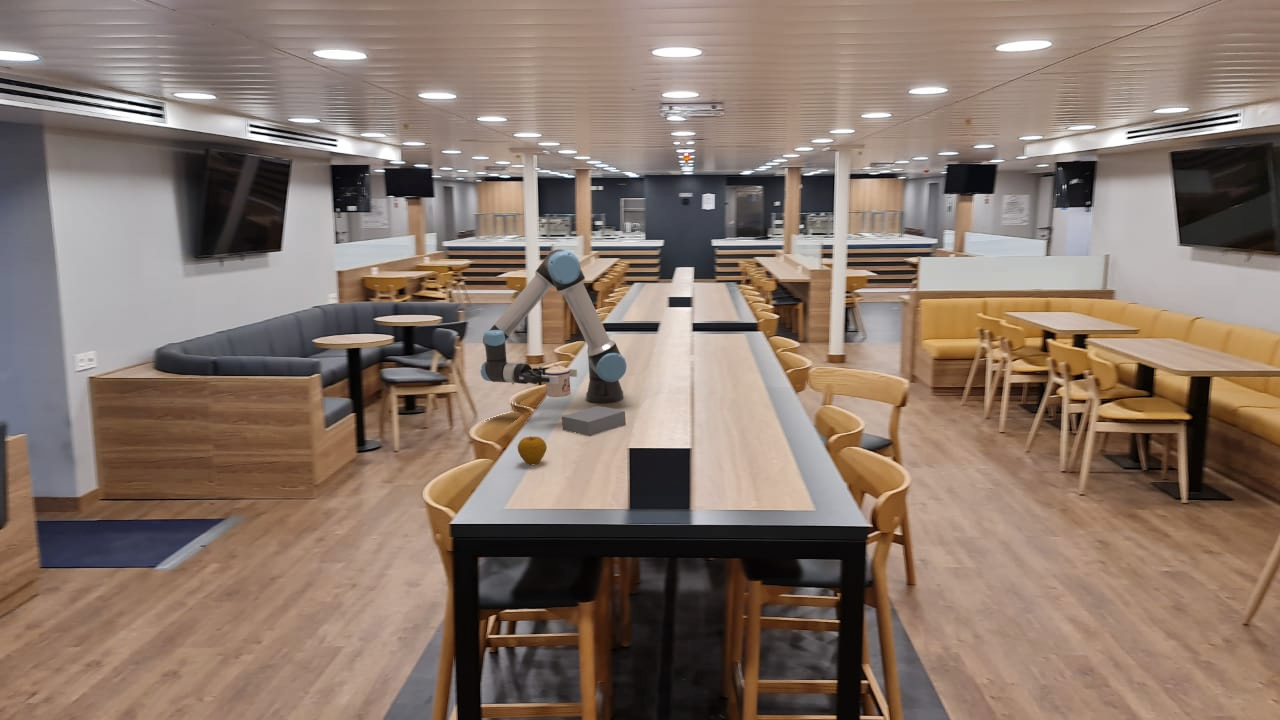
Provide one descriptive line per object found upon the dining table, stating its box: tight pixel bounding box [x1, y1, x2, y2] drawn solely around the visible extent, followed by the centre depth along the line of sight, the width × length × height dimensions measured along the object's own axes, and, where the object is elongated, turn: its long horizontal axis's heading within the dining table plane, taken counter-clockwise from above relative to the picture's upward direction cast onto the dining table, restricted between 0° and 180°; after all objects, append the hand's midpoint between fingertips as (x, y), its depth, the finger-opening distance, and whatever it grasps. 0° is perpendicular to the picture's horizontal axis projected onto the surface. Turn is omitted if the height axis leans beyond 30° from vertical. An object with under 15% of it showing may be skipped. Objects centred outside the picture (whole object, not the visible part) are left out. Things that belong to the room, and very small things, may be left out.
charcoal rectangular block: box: [561, 405, 626, 437], centre depth 316 cm, size 18×14×5 cm
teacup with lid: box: [545, 362, 571, 398], centre depth 321 cm, size 12×9×12 cm
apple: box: [517, 435, 548, 466], centre depth 276 cm, size 9×9×9 cm
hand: (567, 376), depth 319 cm, fingers closed on teacup with lid, 12 cm apart
